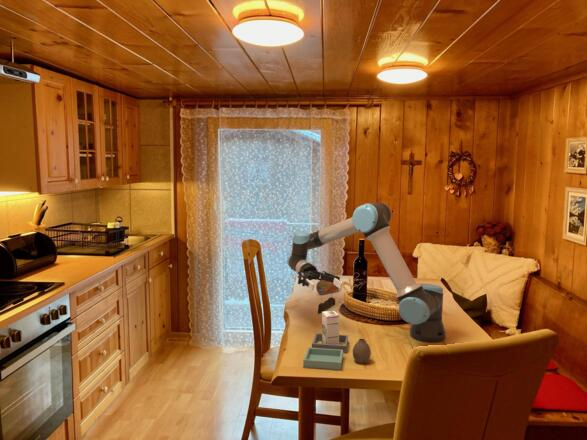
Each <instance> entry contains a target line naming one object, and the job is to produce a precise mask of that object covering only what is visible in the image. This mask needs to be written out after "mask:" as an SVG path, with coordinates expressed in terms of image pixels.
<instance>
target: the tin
mask: <svg viewBox="0 0 587 440" xmlns="http://www.w3.org/2000/svg"><path fill="white" fill-rule="evenodd" d="M315 289H316V292H317V294H320V295H322V296H325V295H326V296H327V295H329V294H331V295H332V294H335V293H337V292H338V291H339V290H340V289H339V288H338V287H337V286H335V285H334V284H333V283H332V282H328V281H324V280H321V281H320V280H318V282H317V283H316V286H315Z"/></svg>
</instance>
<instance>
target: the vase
mask: <svg viewBox="0 0 587 440" xmlns="http://www.w3.org/2000/svg"><path fill="white" fill-rule="evenodd" d="M371 353H372V351H371V347H370V345H369V344H368V343H367V341H366V339H365V338H359V339H358V341H357V342H355V344H354V346H353V348H352V358H353V360H354V361H355V362H356V363H358V364H366V363H368V362H369V361H370V358H371Z"/></svg>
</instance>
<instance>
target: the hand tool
mask: <svg viewBox="0 0 587 440" xmlns="http://www.w3.org/2000/svg"><path fill="white" fill-rule="evenodd" d="M335 304H336V298H334V297H328V299H326V300H324V302H320V303H319V304H318V306H317V314H319V315H320V314H322V312H324V311H327V309H329V308H330V307H331V306H332V305H333V306H335Z"/></svg>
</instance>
